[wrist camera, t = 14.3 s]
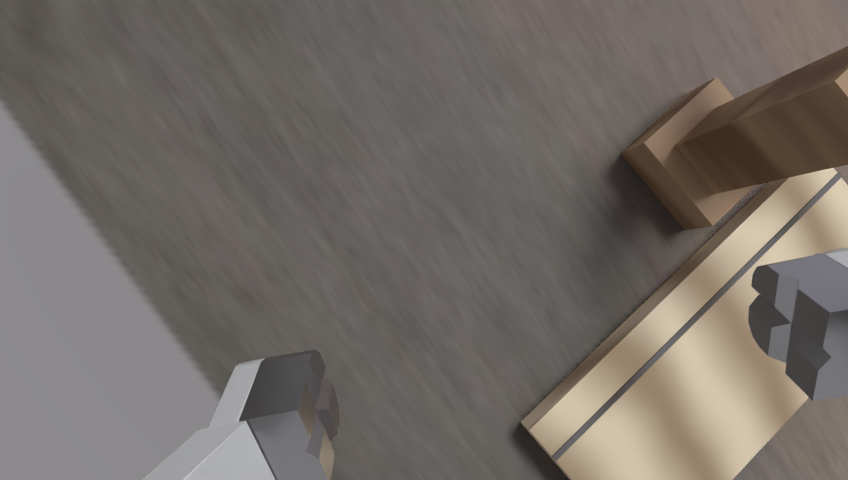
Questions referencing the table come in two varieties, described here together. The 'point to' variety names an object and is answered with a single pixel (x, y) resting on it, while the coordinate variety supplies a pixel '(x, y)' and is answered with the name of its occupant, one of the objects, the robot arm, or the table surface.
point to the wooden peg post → (744, 140)
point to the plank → (694, 355)
